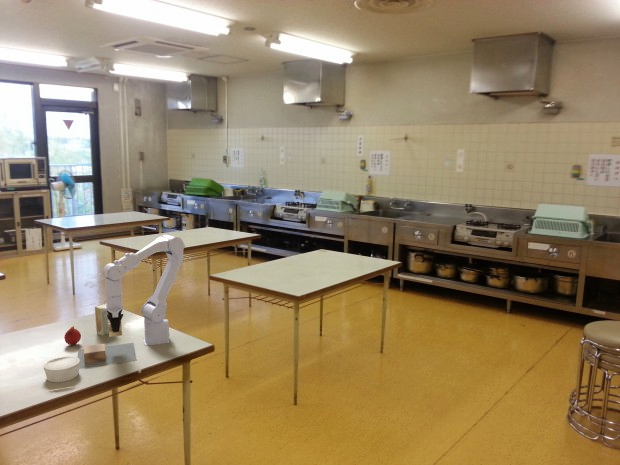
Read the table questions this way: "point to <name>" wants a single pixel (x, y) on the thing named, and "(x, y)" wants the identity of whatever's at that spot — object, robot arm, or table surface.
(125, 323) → the table surface
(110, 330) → the birch block
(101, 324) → the skincare box
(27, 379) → the table surface
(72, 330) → the onion
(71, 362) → the ramekin
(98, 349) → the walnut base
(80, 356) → the mat
